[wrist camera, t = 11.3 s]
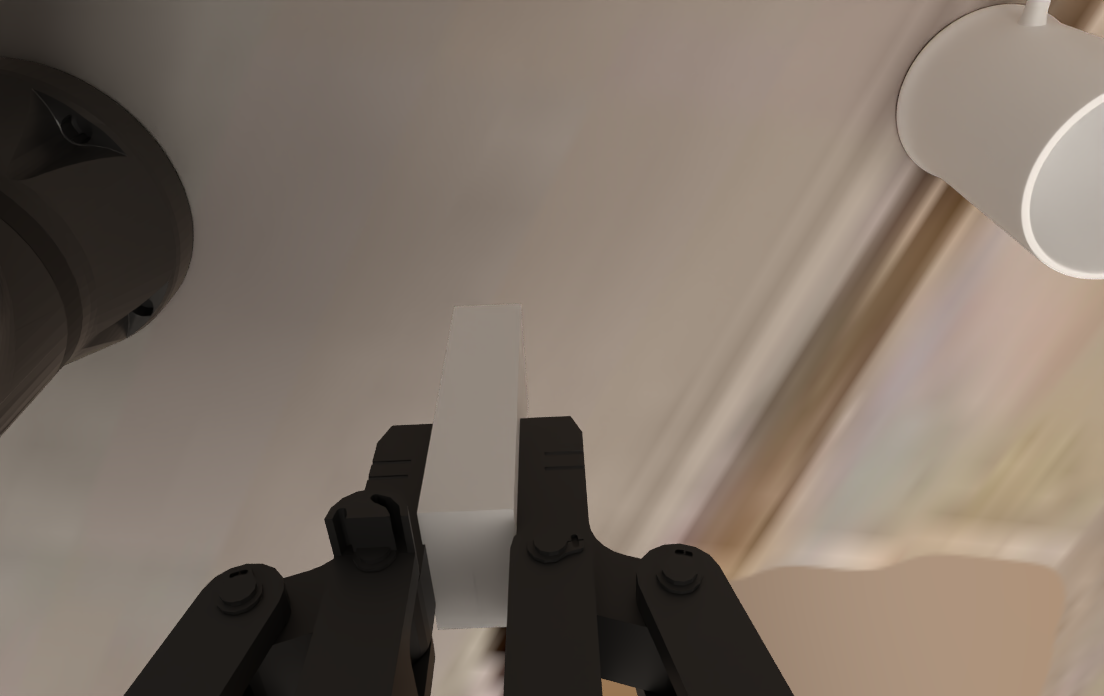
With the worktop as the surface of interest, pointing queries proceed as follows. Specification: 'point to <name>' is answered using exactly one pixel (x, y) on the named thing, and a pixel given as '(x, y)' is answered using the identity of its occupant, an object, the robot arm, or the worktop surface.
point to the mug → (1016, 127)
